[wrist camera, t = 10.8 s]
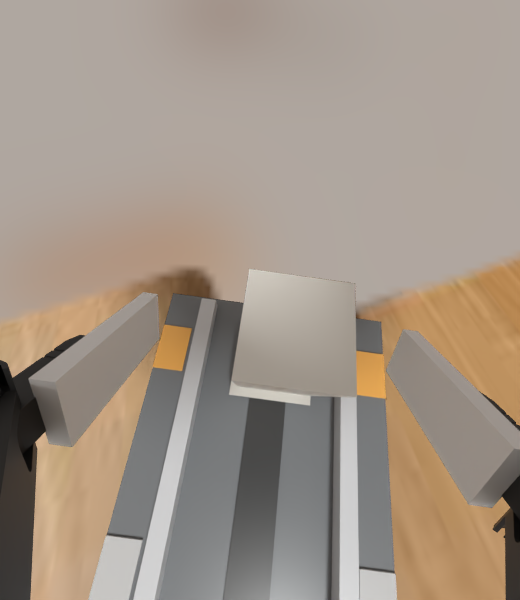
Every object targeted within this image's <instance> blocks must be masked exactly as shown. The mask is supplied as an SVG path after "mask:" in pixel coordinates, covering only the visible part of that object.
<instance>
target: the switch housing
mask: <svg viewBox="0 0 520 600" xmlns="http://www.w3.org/2000/svg"><path fill="white" fill-rule="evenodd" d="M243 304H244V303H240V302H233V301H225V300H218V299H211V298H204V297H196V296H189V295H182V294H174V293H173V296H172V300H171V304H170V307H169V311H168V315H167V318H166V322H165V325H164V327H163V331H162V334H161V338H160V342H159V345H158V349H157V353H156V356H155V360H154V363H153V369H152V373H151V376H150V380H149V384H148V387H147V391H146V395H145V398H144V402H143V405H142V409H141V413H140V416H139V420H138V424H137V427H136V431H135V435H134V438H133V442H132V445H131V449H130V453H129V456H128V460H127V464H126V467H125V471H124V475H123V478H122V482H121V485H120V489H119V493H118V496H117V500H116V504H115V507H114V511H113V515H112V518H111V522H110V525H109V529H108V533H107V535H106V537H105V541H104V545H103V548H102V552H101V556H100V559H99V563H98V566H97V570H96V574H95V577H94V581H93V585H92V588H91V592H90V595H89V599H88V600H397V592H396V574H395V573H394V554H393V535H392V517H391V498H390V479H389V461H388V442H387V423H386V405H385V399H386V391H385V372H384V355H383V349H382V330H381V322H378V321H371V320H364V319H357V318H356V367H357V397H325V396H311V398H310V406H309V405H302V404H294V403H287V402H280V401H272V400H265V399H258V398H250V397H243V396H235V395H229V392H230V385H231V379H232V373H233V367H234V361H235V354H236V348H237V342H238V336H239V329H240V323H241V317H242V311H243Z"/></svg>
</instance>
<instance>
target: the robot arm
mask: <svg viewBox="0 0 520 600" xmlns="http://www.w3.org/2000/svg"><path fill="white" fill-rule="evenodd" d="M159 338H160V337H159V314H158V294H152V293H145V292H143V293H142V294H140V295H139V296H138V297H136V298H135V299H134V300H132V301H131V302H130V303H128V304H127V305H126V306H124V307H123V308H122V309H120V310H119V311H118V312H116V313H115V314H114V315H112V316H111V317H110V318H108V319H107V320H106V321H104V322H103V323H102V324H100V325H99V326H98V327H96V328H95V329H94V330H92V331H91V332H90V333H88V334H87V335H86V336H84V335H79V336H76V337H74V338H71V339H69V340H67V341H65V342H63V343H62V344H61V345H59V346H58V347H56V348H55V349H54V351H51V352H49V353H48V354H46V355H45V357H44V358H43V357H42V358H41V359H39V360H38V361H36V362H35V363H34V364H32V365H31V366H29V367H28V368H26V369H25V370H24V371H22V372H21V373H19V374H18V375H16V376H15V377H14V378H12V376H11V373H10V370H9V367H8V364H7V363H6V362H4V361H1V360H0V600H30V593H31V572H32V551H33V529H34V508H35V486H36V465H37V447H36V443H35V442H36V441H37V440H38V438H39V437H40V436H41V435H42V434H43V433H44V432H46V435H47V439H48V442H49V444H53V445H60V446H67V447H73V446H74V444H75V443H76V442H77V441H78V439H79V438H80V437H81V436H82V434H83V433H84V432H85V431H86V429H87V428H88V427H89V426H90V424H91V423H92V422H93V421H94V419H95V418H96V417H97V416H98V414H99V413H100V412H101V411H102V409H103V408H104V407H105V406H106V404H107V403H108V402H109V401H110V399H111V398H112V397H113V396H114V394H115V393H116V392H117V391H118V389H119V388H120V387H121V386H122V384H123V383H124V382H125V381H126V379H127V378H128V377H129V376H130V374H131V373H132V372H133V371H134V369H135V368H136V367H137V366H138V364H139V363H140V362H141V361H142V360H143V358H144V357H145V356H146V355H147V353H148V352H149V351H150V350H151V348H152V347H153V346H154V345H155V343H156V342H157V341H158V340H159ZM386 372H387V373H388V375H389V377H390V378H391V380H392V381H393V383H394V385H395V386H396V388H397V389H398V391H399V393H400V394H401V396H402V398H403V399H404V401H405V402H406V404H407V406H408V407H409V409H410V411H411V412H412V414H413V415H414V417H415V419H416V420H417V422H418V423H419V425H420V427H421V428H422V430H423V432H424V433H425V435H426V436H427V438H428V440H429V441H430V443H431V444H432V446H433V448H434V449H435V451H436V453H437V454H438V456H439V457H440V459H441V461H442V462H443V464H444V466H445V467H446V469H447V470H448V472H449V474H450V475H451V477H452V478H453V480H454V482H455V483H456V485H457V487H458V488H459V490H460V491H461V493H462V495H463V496H464V498H465V499H466V501H467V503H468V504H469V505H475V506H482V507H489V508H492V507H493V506H494V505H495V504H496V503H497V502H498V500H499V499H500V498H501V497H503V498H504V500H505V501H506V502H507V504H508V505H509V506H510V509H509V510H508V511H507V512H506V513H505V514H504V515H503V516H502V517H501V518H500V520H499V521H498V522H497V523H496V524H495V525H494V528H493V530H494V531H496V532H498V531H499V530H500V529H501V528H505V536H504V538H505V563H506V600H520V426H519V425H516V422H515V421H514V420H513V419H512V418H511V417H510V416H509V415H506V412H505V411H504V410H503V409H501V408H500V407H499V406H498V405H497V404H496V403H495V402H494V401H493V400H491V399H490V398H488V397H487V396H485V395H484V394H482V393H481V392H480V391H478V390H477V389H476V388H475V387H474V386H473V385H472V384H471V383H470V382H469V381H468V380H467V379H466V378H465V377H464V376H463V375H462V374H461V373H460V372H459V371H458V370H457V369H456V368H455V367H453V366H452V365H451V364H450V363H449V362H448V361H447V360H446V359H445V358H444V357H443V356H442V355H441V354H440V353H439V352H438V351H437V350H436V349H435V348H434V347H433V346H432V345H431V344H430V343H429V342H428V341H427V340H426V339H425V338H424V337H423V336H422V335H421V334H420V333H419V332H418V331H411V330H404V329H403V331H402V333H401V336H400V338H399V341H398V343H397V345H396V348H395V350H394V352H393V355H392V357H391V360H390V362H389V364H388V367H387V369H386Z"/></svg>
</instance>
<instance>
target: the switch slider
mask: <svg viewBox="0 0 520 600" xmlns="http://www.w3.org/2000/svg"><path fill="white" fill-rule="evenodd" d="M229 395H235V396H243V397H250V398H258V399H265V400H272V401H280V402H287V403H294V404H302V405H309V406H310V398H311V396H325V397H357V367H356V301H355V283H349V282H342V281H334V280H327V279H319V278H313V277H305V276H298V275H291V274H283V273H276V272H269V271H262V270H255V269H249V274H248V280H247V286H246V292H245V298H244V304H243V311H242V317H241V323H240V329H239V336H238V342H237V348H236V354H235V361H234V367H233V373H232V379H231V385H230V392H229Z"/></svg>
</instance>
